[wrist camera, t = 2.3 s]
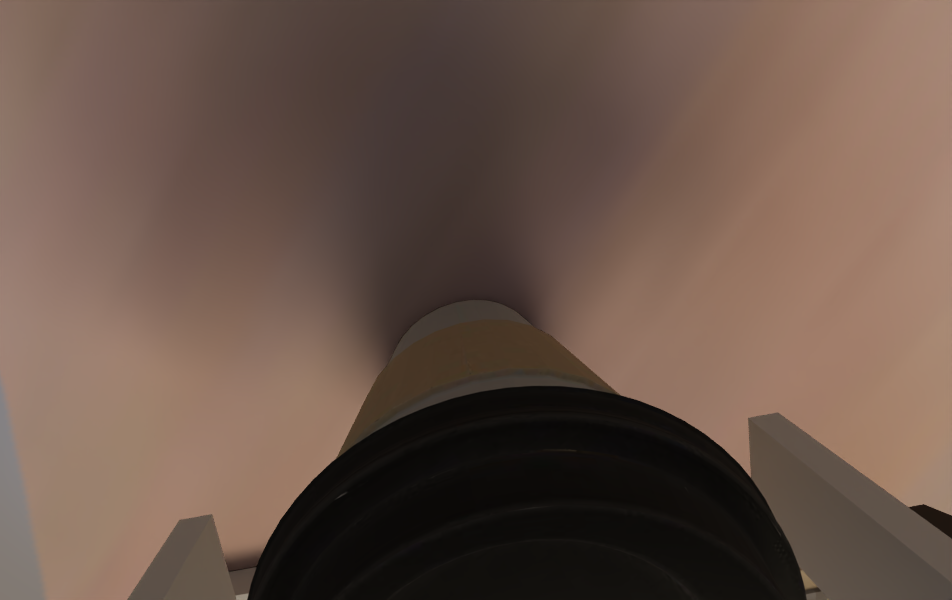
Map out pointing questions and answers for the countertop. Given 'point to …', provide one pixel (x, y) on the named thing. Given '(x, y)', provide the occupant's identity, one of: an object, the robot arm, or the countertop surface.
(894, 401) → the countertop surface
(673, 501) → the coffee cup
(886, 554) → the robot arm
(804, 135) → the countertop surface
